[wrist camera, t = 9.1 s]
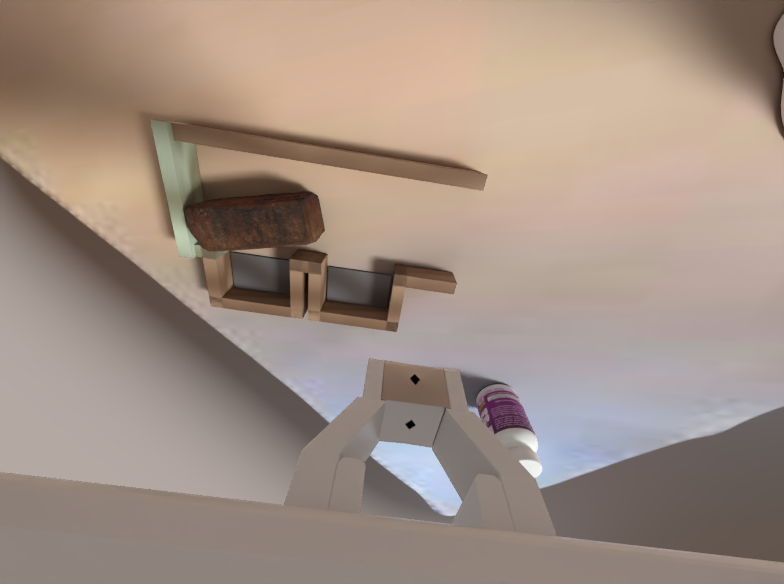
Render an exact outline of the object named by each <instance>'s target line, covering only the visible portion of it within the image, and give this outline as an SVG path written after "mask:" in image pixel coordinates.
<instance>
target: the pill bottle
mask: <svg viewBox="0 0 784 584" xmlns="http://www.w3.org/2000/svg"><path fill="white" fill-rule="evenodd" d="M476 403H477V407H478V411H479V415H480V418H481V421H482V422H483V423H484V424H485V425H486V426H487V427H488V428H489V429H490V430H491V432H492V433H493V434H494V435H495V436H496V437H497V438H498V439H499V440H500V441H501V442H502V444H503V445H504V446H505V447H506V448H507V449H508V450H509V451H510V452H511V453H512V454H513V455H514V457H515V458H516V459H517V460H518V461H519V462H520V463H521V464H522V465H523V466H524V467H525V468H526V470H527V471H528V472H529V473H530V474H531V475H532V476H533V477H534V478H536V477H537V476H539V475H540V473H541V472H542V465H541V463H540V460H539V458H538V455H537V454H536V451H537V449H538V441H537V438H536V435H535V433H534V431H533V429H532V427H531V425H530V422H529V420H528V418H527V416H526V414H525V411H524V409H523V407H522V405H521V402H520V400H519V398H518V396H517V394H516V392H515V390H514V389H513V388H511V387H509V386H507V385H502V384H495V385H490V386H488V387H486V388H484V389H482V390H481V391H480V392H479V394H478V396H477V400H476Z"/></svg>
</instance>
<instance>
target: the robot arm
mask: <svg viewBox="0 0 784 584" xmlns="http://www.w3.org/2000/svg"><path fill="white" fill-rule="evenodd" d="M773 38H774V46H775V49H776V53H777V55H778V57H779V60H780V62H781V64H782V66H783V70H784V14H783V15H782V17H781V18H780V20H779V22H778V23H777V25H776V28H775V31H774V37H773ZM781 115H782V121H783V125H784V80H783V89H782V98H781ZM379 441H385V442H396V443H406V444H412V445H419V446H425V447H432V450H433V452H434V453H435V455H436V457H437V458H438V460H439V462H440V464H441V465H442V467H443V469H444V470H445V472H446V474H447V476H448V477H449V479H450V481H451V482H452V484H453V486H454V488H455V489H456V491H457V493H458V495H459V496H460V498H461V500H462V501H463V502H462V504H461V506H460V508H459V510H458V512H457V514H456V516H455V518H454V520H453V522H452V524H445V523H437V522H427V521H419V520H411V519H402V518H393V517H384V516H375V515H367V514H360V511H361V501H362V491H363V483H364V474H365V464H364V462H365V461H366V459H367V458H368V456H369V455H370V454H371V452H372V451H373V449H374V448H375V447H376V445H377V444H378V442H379ZM0 584H784V563H782V562H773V561H764V560H756V559H747V558H739V557H730V556H720V555H712V554H704V553H695V552H687V551H678V550H669V549H660V548H652V547H643V546H635V545H626V544H617V543H609V542H599V541H591V540H583V539H574V538H565V537H557V535H556V532H555V530H554V527H553V524H552V522H551V519H550V516H549V514H548V511H547V508H546V506H545V503H544V500H543V498H542V495H541V493H540V490H539V487H538V485H537V482H536V479H535V478H534V477H533V476H532V475H531V474H530V473H529V472H528V471H527V470H526V468H525V467H524V466H523V465H522V464H521V463H520V462H519V461H518V460H517V459H516V458H515V457H514V455H513V454H512V453H511V452H510V451H509V450H508V449H507V448H506V447H505V446H504V445H503V444H502V442H501V441H500V440H499V439H498V438H497V437H496V436H495V435H494V434H493V433H492V432H491V430H490V429H489V428H488V427H487V426H486V425H485V424H484V423H483V422H482V421H481V420H480V419H479V417H478V416H477V415H476V414H475V413H474V412H470V411H469V410H468V405H467V401H466V397H465V393H464V389H463V384H462V380H461V376H460V372H459V371H458V370H452V369H444V368H443V369H442V368H434V367H426V366H419V365H411V364H404V363H398V362H392V361H386V360H385V361H383V360H377V359H371V358H369V361H368V366H367V373H366V379H365V385H364V391H363V398H362V397H357V398H356V399H355V400H354V401H353V402H352V403H351V404H350V405H349V406H348V407H347V408H346V409H345V410H344V411H343V412H342V413H340V414H339V415H338V416H337V417H336V418H335V419H334V420H333V421H332V422H331V423H330V424H329V425H328V426H327V427H326V428H325V429H324V430H323V431H322V432H320V433H319V434H318V435H317V436H316V437H315V438H314V439H313V440H312V441H311V442H310V443H309V444H308V445H307V446H306V447H305V448H304V449H302V451H301V454H300V457H299V461H298V463H297V466H296V469H295V473H294V476H293V479H292V481H291V485H290V488H289V491H288V494H287V497H286V500H285V503H284V505H281V504H271V503H263V502H254V501H246V500H237V499H228V498H220V497H211V496H202V495H194V494H185V493H177V492H167V491H159V490H151V489H142V488H133V487H125V486H116V485H107V484H98V483H90V482H81V481H73V480H65V479H56V478H47V477H39V476H30V475H22V474H13V473H5V472H0Z"/></svg>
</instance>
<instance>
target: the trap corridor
mask: <svg viewBox="0 0 784 584" xmlns="http://www.w3.org/2000/svg"><path fill="white" fill-rule="evenodd" d="M150 123H151V127H152V132H153V137H154V141H155V146H156V151H157V155H158V160H159V165H160V169H161V174H162V179H163V183H164V188H165V193H166V197H167V202H168V207H169V211H170V216H171V221H172V225H173V230H174V234H175V239H176V244H177V248H178V253H179V257H184V258H191V259H193V258H195V257H201V258H203V264H204V270H205V275H206V281H207V287H208V293H209V298H210V304H211V306H212V307H220V308H227V309H234V310H241V311H249V312H256V313H263V314H270V315H278V316H285V317H292V318H299V319H303V317H304V315H305V313H306V311H307V309H308V320H314V321H321V322H328V323H335V324H343V325H350V326H357V327H364V328H372V329H379V330H386V331H393V332H397V328H398V323H399V318H400V313H401V307H402V302H403V297H404V292H405V287H407V288H414V289H421V290H428V291H435V292H442V293H449V294H454V291H455V288H456V284H457V283H456V280H455V278H454V275H453V273H451V272H444V271H437V270H431V269H424V268H417V267H411V266H404V265H397V264H395V270H394V276H393V282H392V288H391V294H390V300H389V306H388V308H387V302H388V296H389V289H390V283H391V277H392V275H386V274H379V273H372V272H366V271H359V270H352V269H345V268H338V267H332V266H329V267H328V288H327V300H326V277H327V255H328V254H323V253H316V252H310V251H303V250H297V251H296V252H295V253H294V255H293V256H292V257H291V258H290V260H284V259H277V258H270V257H264V256H257V255H250V254H243V253H236V252H229V251H216V252H212V251H207V250H206V249H203V248H202V246H201V244H200V243H199V242H198V241H197V240H196V239H195V238H194V236H193V235H192V234H191V233H190V231H189V229H188V227H187V226H188V225H187V222H188V221H187V217H186V215H185V211H186V207H188V206H190V205H193V204H196V203H200V202H204V197H203V191H202V185H201V178H200V172H199V165H198V159H197V153H196V146H195V144H199V145H205V146H211V147H218V148H224V149H230V150H236V151H242V152H248V153H254V154H261V155H267V156H273V157H279V158H285V159H291V160H298V161H304V162H310V163H316V164H322V165H328V166H334V167H341V168H347V169H353V170H359V171H365V172H371V173H378V174H384V175H390V176H396V177H402V178H408V179H414V180H421V181H427V182H433V183H439V184H445V185H451V186H458V187H464V188H470V189H476V190H482V191H483V189H484V186H485V182H486V179H487V175H486V174H484V173H481V172H477V171H471V170H465V169H459V168H453V167H447V166H441V165H435V164H428V163H422V162H416V161H410V160H404V159H398V158H392V157H386V156H380V155H374V154H368V153H362V152H356V151H350V150H344V149H338V148H332V147H326V146H320V145H314V144H308V143H302V142H295V141H289V140H283V139H277V138H271V137H265V136H259V135H253V134H247V133H241V132H235V131H229V130H223V129H217V128H211V127H205V126H199V125H193V124H187V123H181V122H171V121H159V120H150ZM230 253H231V260H230ZM231 261H232V268H231ZM232 269H233V276H232ZM233 277H234V284H233ZM234 286H235V287H234Z"/></svg>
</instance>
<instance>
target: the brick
mask: <svg viewBox="0 0 784 584" xmlns="http://www.w3.org/2000/svg"><path fill="white" fill-rule="evenodd" d="M185 215H186V217H187V221H188V222H187V225H188V226H187V227H188V229H189V231H190V233H191V234H192V235H193V236H194V238H195V239H196V240H197V241H198V242H199V243H200V244H201V246H202V248H203V249H206V250H207V251H212V252H216V251H235V250H247V249H260V248H273V247H282V246H288V247H289V246H296V245H307V244H310V243H313V242H316V241H317V239H318V238H319V237H320V236H321V234H322V233H323V232H324V231H325V229H324V223H323V218H322V213H321V208H320V203H319V199H318V196H317V195H314V194H313V193H311V192H300V193H281V194H268V195H258V196H247V197H235V198H224V199H213V200H209V201H204V202H200V203H196V204H193V205H190V206H188V207H186V211H185Z"/></svg>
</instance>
